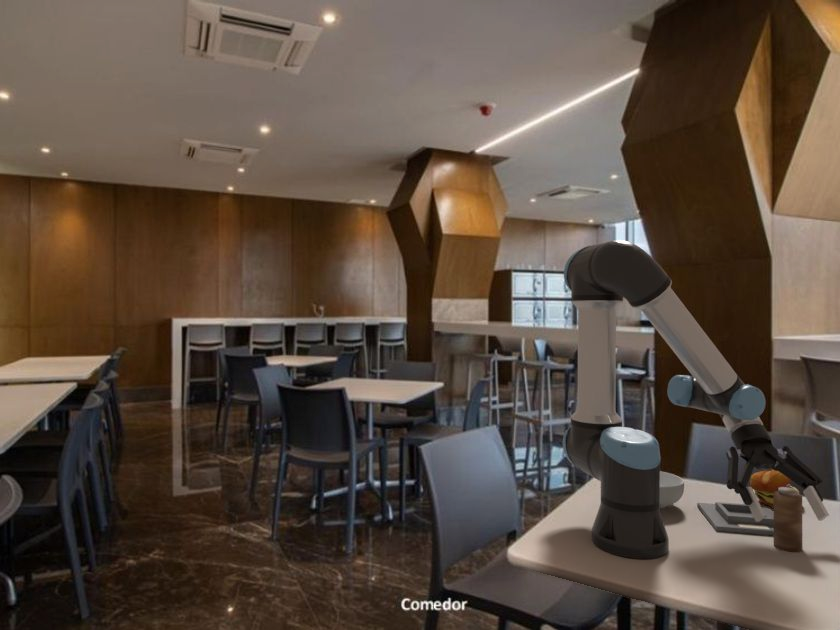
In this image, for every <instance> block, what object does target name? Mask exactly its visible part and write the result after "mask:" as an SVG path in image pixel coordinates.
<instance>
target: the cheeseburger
mask: <svg viewBox="0 0 840 630" xmlns="http://www.w3.org/2000/svg"><path fill="white" fill-rule="evenodd" d="M791 481H792V480H791V479H789V478H788V477H786V476H785V475H783V474H782V473H780V472H779V471H775V470H773V469H772V468H771V469H768V470H767V469H766V470H761V471H758V472H754V473H752V474H751V476H750V479H749V485H750V486H749V487H752V489H753V491H754V493H755V495H756V497H757V499H758V501H759V503H762V504H763V505H765V506H768V507H771V508H773V492H774V491H778V488H779V487H788V488H793V489H795V490H797V493H798V494H800V491H799V489H797V488H796V487H795V486H792V485H791Z"/></svg>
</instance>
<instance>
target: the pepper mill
mask: <svg viewBox="0 0 840 630" xmlns="http://www.w3.org/2000/svg"><path fill="white" fill-rule="evenodd" d="M797 490H798V489H797ZM797 490H795V489H793V488H788V487H779V488H778V491H774V492H773V507H772V508H773V512H774V536H773V546H774V547H775V548H777V549H779V550H782V551H785V552H789V553H801V552H802V551H803V495H801V494H800V493H799V494H798V493H797Z"/></svg>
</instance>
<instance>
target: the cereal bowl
mask: <svg viewBox="0 0 840 630" xmlns="http://www.w3.org/2000/svg"><path fill="white" fill-rule="evenodd" d="M684 489H685V481H684V479H683V478H682V477H680V476H678V475H676V474H673V473H670V472H667V471H666V472H665V471H661V470H660V500H659V510H662V509H664V508H665V507H667V506H672V505H674V504H675V503H677V502H679V501H680V500H681V498H682V497H683V494H684V492H685V491H684Z"/></svg>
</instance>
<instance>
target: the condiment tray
mask: <svg viewBox="0 0 840 630" xmlns="http://www.w3.org/2000/svg"><path fill="white" fill-rule="evenodd" d="M697 508H698V509H699V511H700V512H701V513H702V515H703V516H704V517H705V518H706V519H707V521H708V522H709V523H710V525H711V526H712V528H714V530H715V531H716V532H726V533H739V534H748V535H749V534H752V535H763V536H773V537H774V511H773V510H771V509H770V507H763V506H761V508H762V510H763V512H764V514H765V517H764V518H763V519H762V520H761V521H760V522H756V521H755V519H754V517H753V514H752V512H751V510H750V508H749V506H748V505H745V504H744V503H734V502H721V501H720V502H719V501H715V503H709V502H708V503H706V502H697Z"/></svg>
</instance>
